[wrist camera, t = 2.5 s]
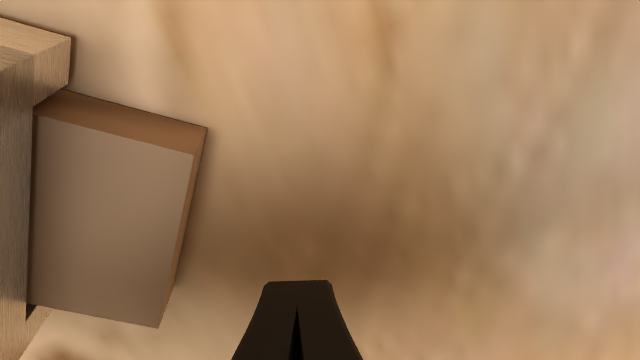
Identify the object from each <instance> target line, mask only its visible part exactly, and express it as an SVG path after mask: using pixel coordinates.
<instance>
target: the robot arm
mask: <svg viewBox="0 0 640 360" xmlns="http://www.w3.org/2000/svg"><path fill="white" fill-rule="evenodd" d="M231 360H363V358H362V357H361V355H360V353H359V351H358V349H357V347H356V345H355V343H354V341H353V339H352V337H351V335H350V333H349V331H348V329H347V326H346V324H345V322H344V319H343V317H342V315H341V312H340V310H339V307H338V305H337V302H336V299H335V296H334V292H333V288H332V284H331V283H329V282H328V281H327V280H310V281H277V282H268V283H267V284H266V285H265V286H264V288H263V291H262V294H261V297H260V300H259V303H258V305H257V308H256V310H255V312H254V315H253V317H252V319H251V321H250V323H249V326H248V328H247V330H246V332H245V334H244V336H243V338H242V340H241V342H240V344H239V346H238V347H237V349H236V351H235V353H234V355H233V357H232V359H231Z"/></svg>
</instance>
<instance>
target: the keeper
mask: <svg viewBox="0 0 640 360" xmlns="http://www.w3.org/2000/svg"><path fill="white" fill-rule="evenodd" d="M70 48H71V38H70V37H67V36H63V35H60V34H56V33H53V32H49V31H46V30H42V29H39V28H35V27H32V26H28V25H25V24H21V23H18V22H14V21H11V20H7V19H4V18H0V360H19V359H20V357H21V356H22V354H23V353H24V351H25V350H26V348H27V347H28V345H29V344H30V342H31V341H32V339H33V338H34V336H35V335H36V333H37V332H38V330H39V329H40V327H41V325H42V324H43V322H44V321H45V319H46V318H47V316H48V315H49V313H50V312H51V310H52V309H53V308H49V307H44V306H39V305H33V304H28V303H26V292H27V263H28V234H29V205H30V176H31V147H32V118H33V106H35V105H36V104H38V103H39V102H41V101H42V100H44V99H45V98H47V97H48V96H50V95H51V94H53V93H54V92H56V91H57V90H59V89H61V88H62V87H64V86H65V85H67V84H68V77H69V63H70Z"/></svg>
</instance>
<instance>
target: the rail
mask: <svg viewBox="0 0 640 360" xmlns="http://www.w3.org/2000/svg"><path fill="white" fill-rule="evenodd" d="M206 131H207V128H205V127H201V126H197V125H193V124H190V123H186V122H182V121H178V120H175V119H171V118H167V117H163V116H160V115H156V114H152V113H148V112H145V111H141V110H137V109H134V108H130V107H126V106H122V105H119V104H115V103H111V102H107V101H104V100H100V99H96V98H92V97H89V96H85V95H81V94H77V93H74V92H70V91H66V90H63V89H59V90H57V91H56V92H54V93H53V94H51V95H50V96H48V97H47V98H45V99H44V100H42V101H41V102H39V103H38V104H36V105H35V106H33V118H32V147H31V176H30V205H29V234H28V263H27V292H26V303H28V304H33V305H39V306H44V307H49V308H54V309H59V310H64V311H70V312H75V313H80V314H85V315H90V316H96V317H101V318H106V319H111V320H116V321H122V322H127V323H132V324H137V325H142V326H147V327H153V328H159V325H160V322H161V319H162V317H163V314H164V311H165V308H166V306H167V303H168V300H169V297H170V294H171V292H172V289H173V285H174V280H175V275H176V271H177V266H178V261H179V257H180V252H181V247H182V243H183V238H184V233H185V229H186V224H187V219H188V215H189V210H190V205H191V201H192V196H193V191H194V187H195V182H196V177H197V173H198V168H199V164H200V159H201V154H202V150H203V145H204V140H205V136H206Z"/></svg>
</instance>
